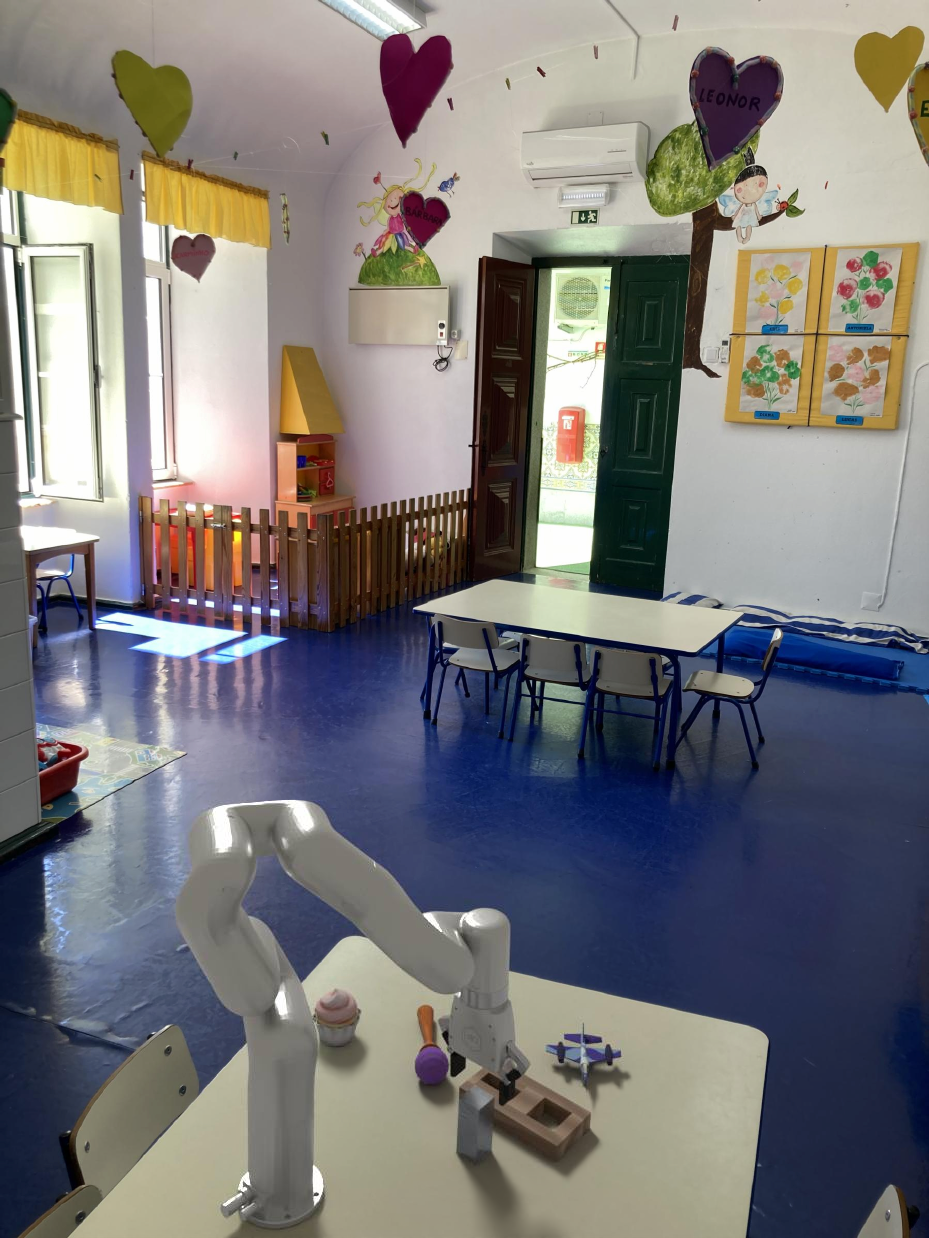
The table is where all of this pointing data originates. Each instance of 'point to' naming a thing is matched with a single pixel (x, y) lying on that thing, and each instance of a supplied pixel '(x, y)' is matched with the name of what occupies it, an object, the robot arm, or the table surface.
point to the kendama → (430, 1051)
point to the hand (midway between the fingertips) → (481, 1086)
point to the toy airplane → (583, 1052)
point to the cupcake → (336, 1017)
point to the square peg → (475, 1124)
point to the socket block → (534, 1113)
